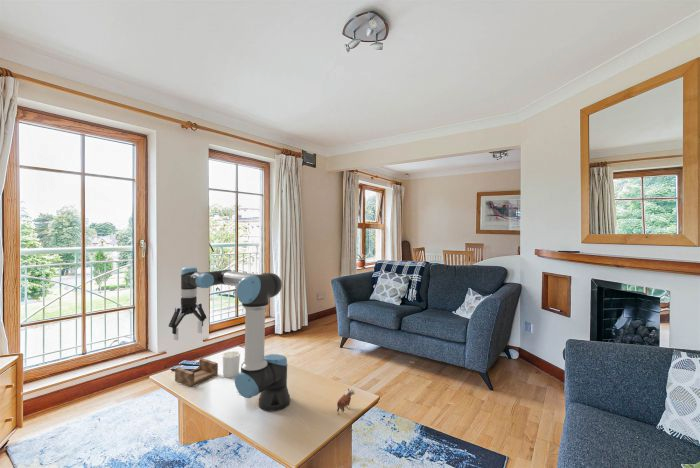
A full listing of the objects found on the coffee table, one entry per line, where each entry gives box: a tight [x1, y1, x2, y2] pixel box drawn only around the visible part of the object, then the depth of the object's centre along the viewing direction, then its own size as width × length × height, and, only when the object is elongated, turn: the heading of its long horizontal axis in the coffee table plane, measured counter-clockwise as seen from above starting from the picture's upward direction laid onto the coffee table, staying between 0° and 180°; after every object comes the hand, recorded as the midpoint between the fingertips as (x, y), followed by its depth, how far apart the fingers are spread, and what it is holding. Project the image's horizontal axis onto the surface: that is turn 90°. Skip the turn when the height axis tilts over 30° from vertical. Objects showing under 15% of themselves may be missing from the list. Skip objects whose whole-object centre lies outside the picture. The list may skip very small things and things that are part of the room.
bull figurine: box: [336, 388, 356, 414], centre depth 153 cm, size 4×13×8 cm, turn 149°
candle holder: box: [221, 350, 241, 379], centre depth 187 cm, size 10×10×12 cm
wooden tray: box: [174, 358, 219, 388], centre depth 182 cm, size 14×17×7 cm
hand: (188, 336), depth 170 cm, fingers open, 13 cm apart
